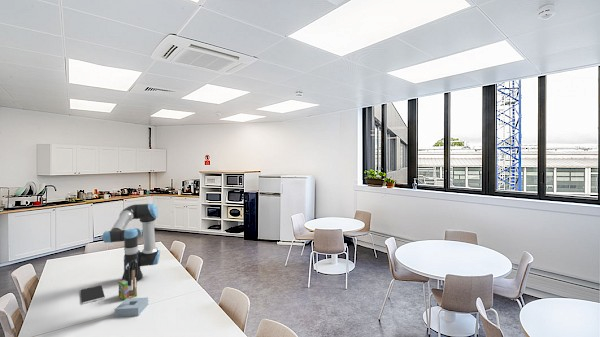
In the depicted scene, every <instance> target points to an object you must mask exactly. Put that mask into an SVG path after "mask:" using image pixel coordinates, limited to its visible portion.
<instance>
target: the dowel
mask: <svg viewBox="0 0 600 337" xmlns="http://www.w3.org/2000/svg"><path fill="white" fill-rule="evenodd" d="M132 280H133V290H130V291H129V296H134V295H135V270H132Z"/></svg>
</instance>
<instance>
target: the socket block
mask: <svg viewBox="0 0 600 337" xmlns="http://www.w3.org/2000/svg"><path fill="white" fill-rule="evenodd" d="M148 306H149V297H133V298H128V299H125V300H124V301H123V300H122V302H121V303H120V304H119V305H118V306H117V307H116V308H114V317H115V318H121V317H122V318H123V317H124V318H125V317H139V316H140V315H141V313H142V312H143V311H144V310H145V309H146V308H147V307H148Z"/></svg>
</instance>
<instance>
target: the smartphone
mask: <svg viewBox="0 0 600 337" xmlns="http://www.w3.org/2000/svg"><path fill="white" fill-rule="evenodd" d="M105 299H106V296H105V294H104V290H103V286H102V284H101V285H96V286H91V287H87V288H82V289H80V300H81V301H80V302H81V305H86V304H90V303H93V302H98V301H101V300H105Z"/></svg>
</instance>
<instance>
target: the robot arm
mask: <svg viewBox="0 0 600 337" xmlns="http://www.w3.org/2000/svg"><path fill="white" fill-rule="evenodd" d="M158 212H159V211H158V206H157V205H156V204H155V203H143V204H142V203H140V204H131V205H129V206H127V207H125V208H124V209H122V211H120V213H119V216H118V219H117V220H116V221H115V223H114V224H113V226H112V228H111V229H110V230H105V231H104V232H103V234H102V241H103V243H105V244H107V243H119V242H123V243H124V246H123V247H124V248H123V250H124V256H123V274H122V276H121V281H122V280H125V281H128V291H130V290H133V280H132V270H135V287H136V281H137V282H138V281H141V280H142V279H143V277H144V273H143V272H142V269H141V267H147V266H155V265H158V264H159V263H160V262H159V261H160V258H161V257H160V255H161V250H159V249H158V247H157V246H156V235H155V221H156V219H157V218H158V214H159V213H158ZM132 220H139V222H140V223H141V226H142V227H141V228H142V229H141V228H139V227H135V228H128V229H126V228H127V227H128V225H129V222H131V221H132ZM141 237H143V239H142V240H143V249H142V251H141V250H139V249H138V248H139V246H138V243H139V242H138V240H140V238H141Z"/></svg>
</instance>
